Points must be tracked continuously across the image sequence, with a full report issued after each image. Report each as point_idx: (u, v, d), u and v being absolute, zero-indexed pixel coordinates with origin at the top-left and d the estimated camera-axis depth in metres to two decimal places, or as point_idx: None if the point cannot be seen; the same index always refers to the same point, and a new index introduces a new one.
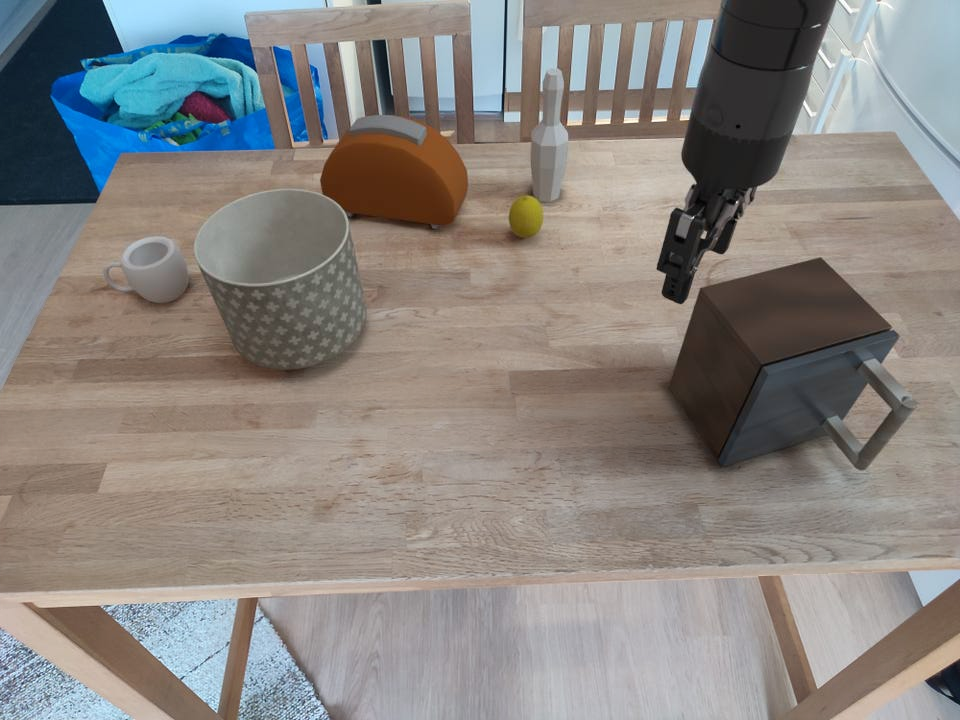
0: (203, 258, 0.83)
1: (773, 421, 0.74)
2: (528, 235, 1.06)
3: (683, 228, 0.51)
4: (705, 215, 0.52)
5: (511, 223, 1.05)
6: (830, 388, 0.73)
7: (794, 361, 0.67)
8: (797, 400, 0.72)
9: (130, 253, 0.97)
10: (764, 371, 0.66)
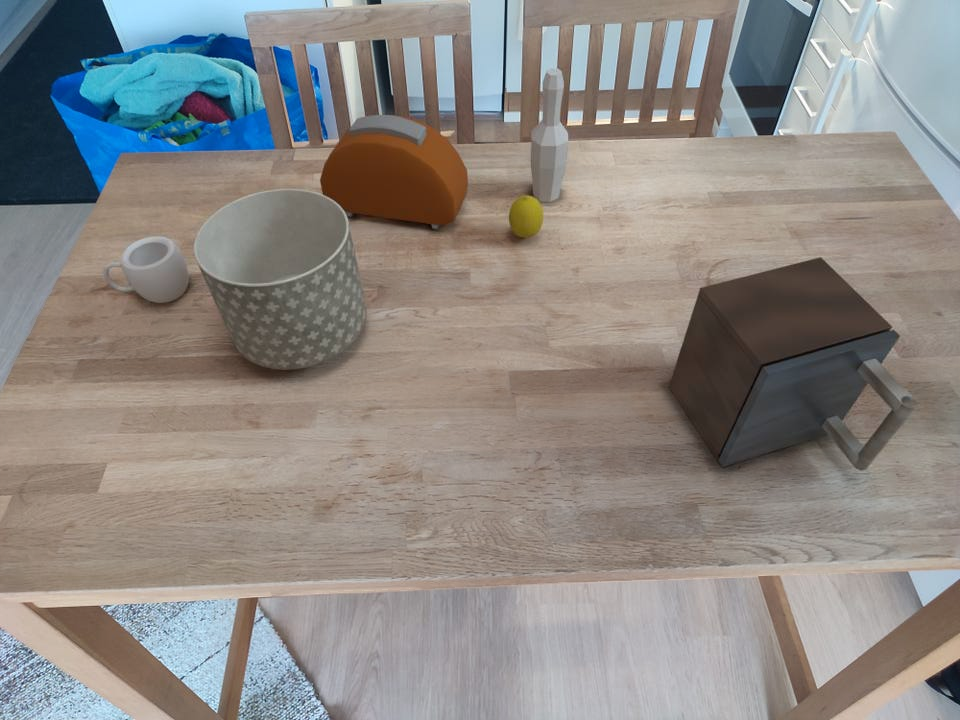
0: (203, 258, 0.83)
1: (773, 421, 0.74)
2: (528, 235, 1.06)
3: None
4: None
5: (511, 223, 1.05)
6: (830, 388, 0.73)
7: (794, 361, 0.67)
8: (797, 400, 0.72)
9: (130, 253, 0.97)
10: (764, 371, 0.66)
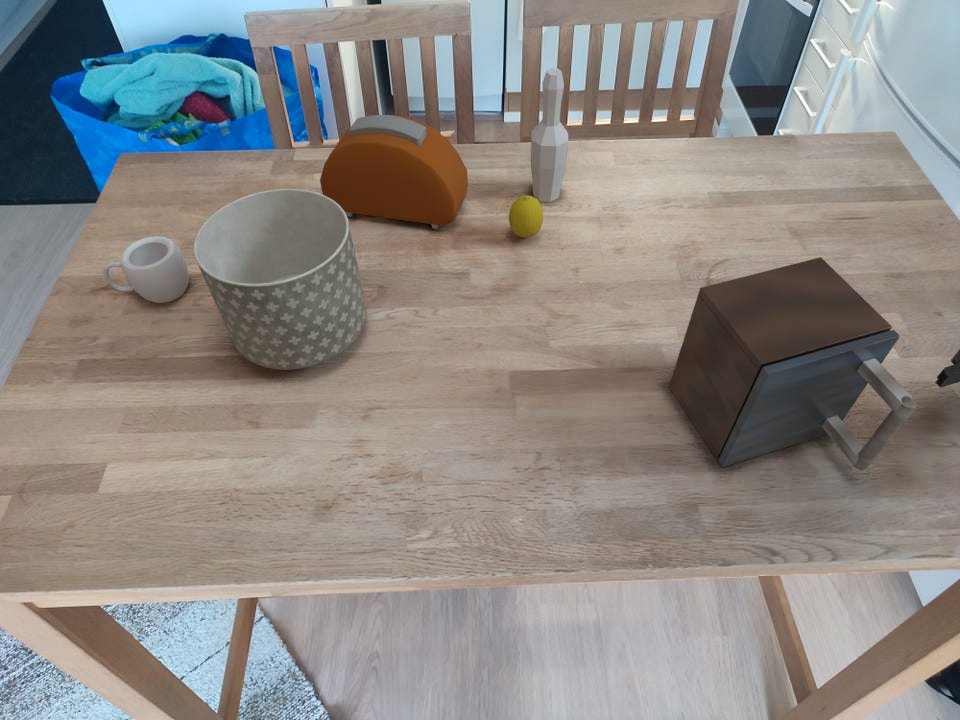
0: (203, 258, 0.83)
1: (773, 421, 0.74)
2: (528, 235, 1.06)
3: None
4: None
5: (511, 223, 1.05)
6: (830, 388, 0.73)
7: (794, 361, 0.67)
8: (797, 400, 0.72)
9: (130, 253, 0.97)
10: (764, 371, 0.66)
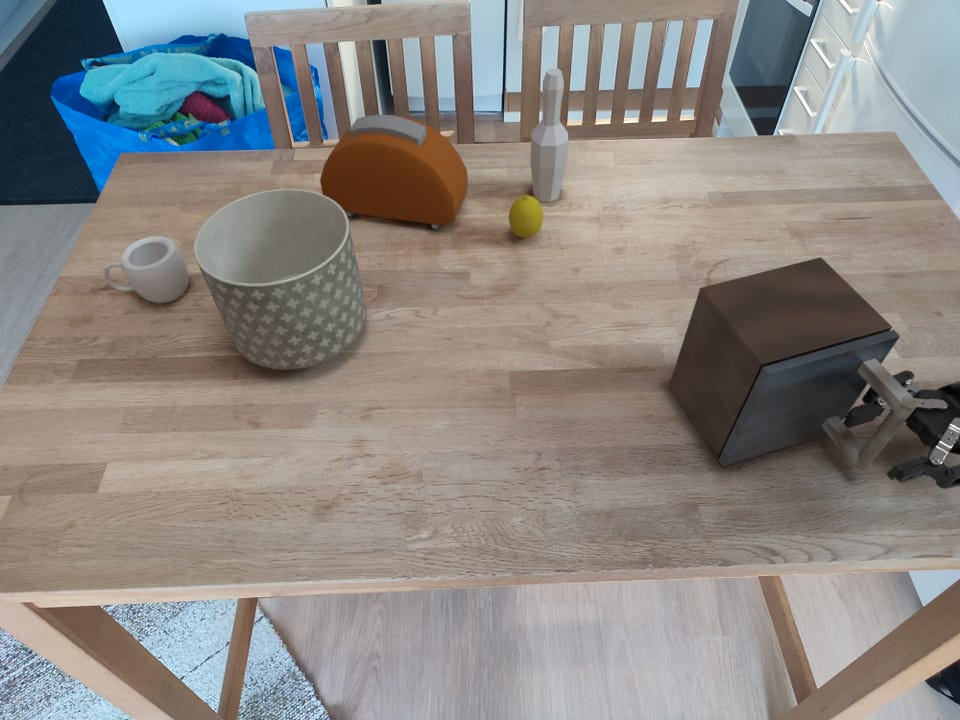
0: (203, 258, 0.83)
1: (773, 421, 0.74)
2: (528, 235, 1.06)
3: None
4: (919, 390, 0.74)
5: (511, 223, 1.05)
6: (830, 388, 0.73)
7: (794, 361, 0.67)
8: (797, 400, 0.72)
9: (130, 253, 0.97)
10: (764, 371, 0.66)
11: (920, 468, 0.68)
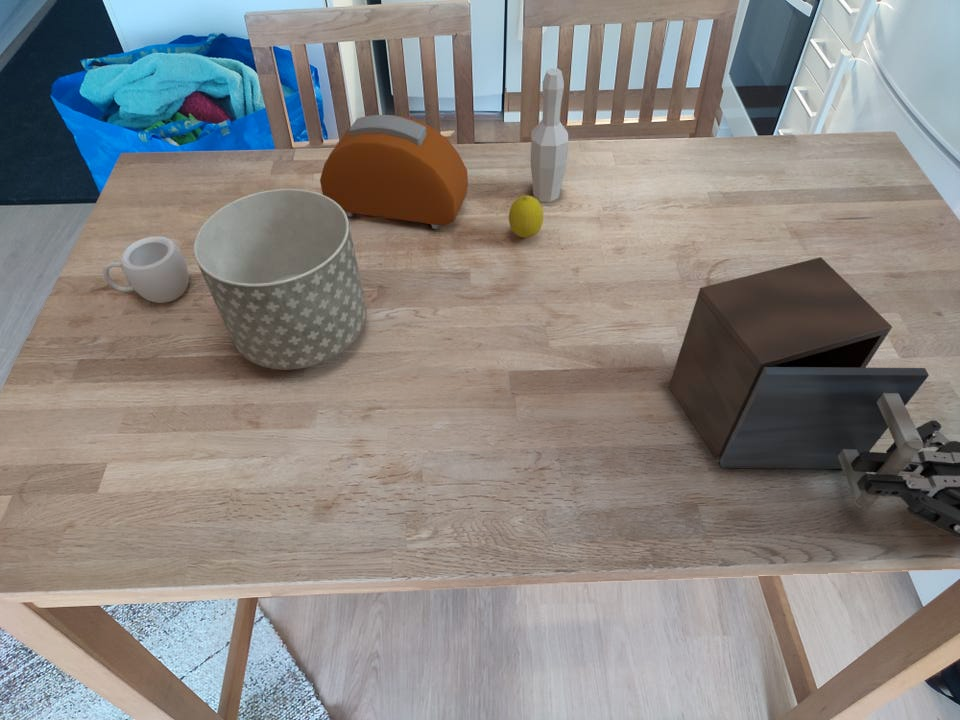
0: (203, 258, 0.83)
1: (778, 431, 0.73)
2: (528, 235, 1.06)
3: None
4: (950, 441, 0.70)
5: (511, 223, 1.05)
6: (844, 413, 0.70)
7: (800, 369, 0.66)
8: (805, 416, 0.71)
9: (130, 253, 0.97)
10: (764, 371, 0.66)
11: (892, 486, 0.67)
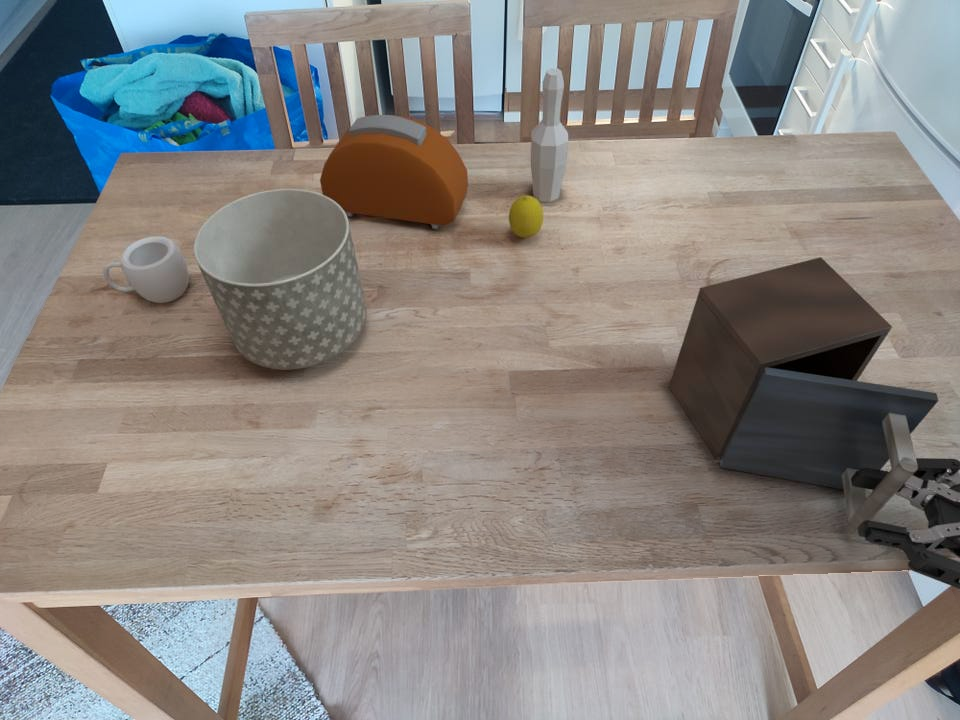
0: (203, 258, 0.83)
1: (778, 438, 0.73)
2: (528, 235, 1.06)
3: None
4: None
5: (511, 223, 1.05)
6: (847, 428, 0.69)
7: (801, 375, 0.66)
8: (806, 425, 0.70)
9: (130, 253, 0.97)
10: (764, 371, 0.66)
11: (893, 536, 0.63)
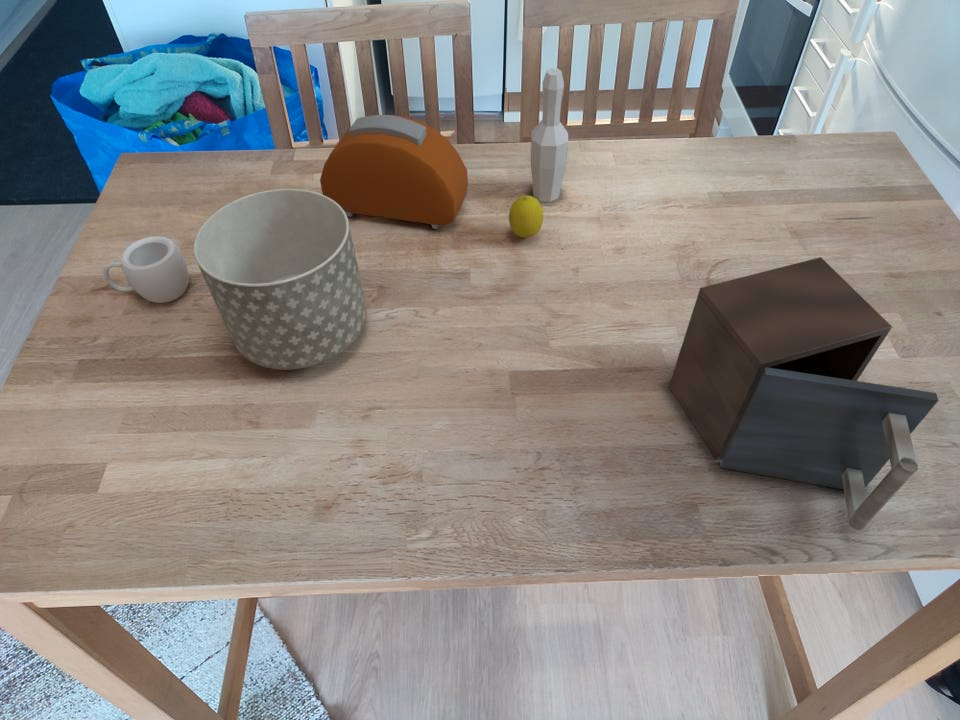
0: (203, 258, 0.83)
1: (778, 438, 0.73)
2: (528, 235, 1.06)
3: None
4: None
5: (511, 223, 1.05)
6: (847, 428, 0.69)
7: (801, 375, 0.66)
8: (806, 425, 0.70)
9: (130, 253, 0.97)
10: (764, 371, 0.66)
11: None
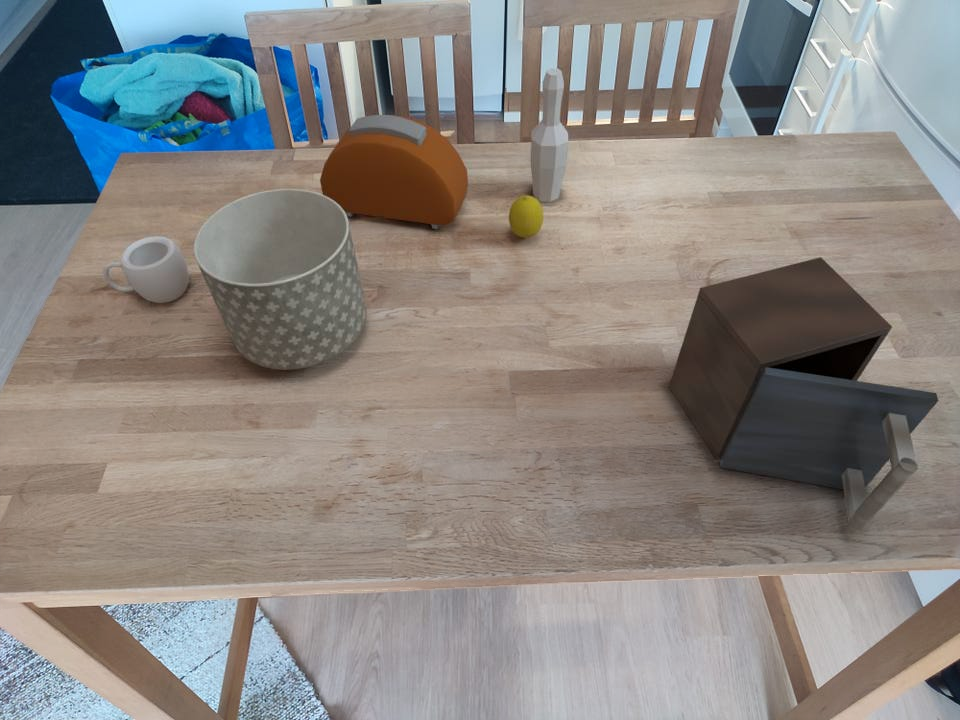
0: (203, 258, 0.83)
1: (778, 438, 0.73)
2: (528, 235, 1.06)
3: None
4: None
5: (511, 223, 1.05)
6: (847, 428, 0.69)
7: (801, 375, 0.66)
8: (806, 425, 0.70)
9: (130, 253, 0.97)
10: (764, 371, 0.66)
11: None
